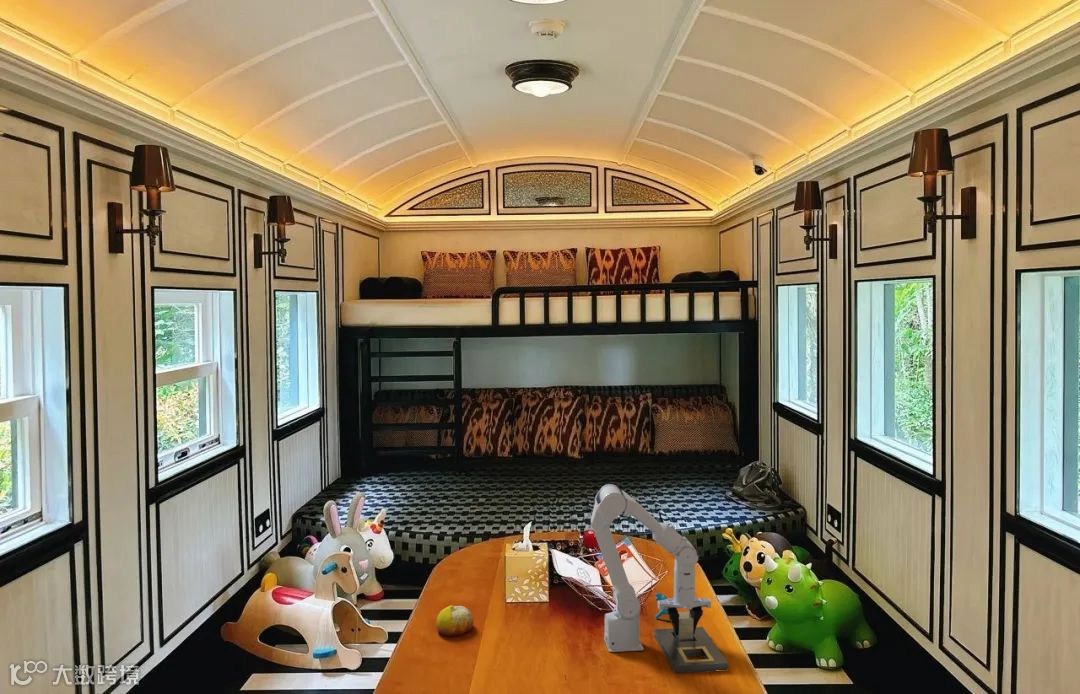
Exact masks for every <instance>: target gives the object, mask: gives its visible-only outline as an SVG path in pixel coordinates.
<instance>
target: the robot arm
mask: <svg viewBox="0 0 1080 694" xmlns="http://www.w3.org/2000/svg"><path fill="white" fill-rule="evenodd" d="M621 514H622V516H623V517H627V516H628V517H629V516H632V517H633V518H634V519H635V520H637V521H639V523H641V524H642V525H643V526H644V527H646V529H648V530H649V531H651V532H652V540H653V541H654V542H656V543H657V544H658V545H659V546H661V547H662V548H663V549H664V550H665V551H666V552H667V553H669V554H670V555H673V557H675V558H674V567H673V597H672V598H671V597H670V598H667V599H666V600H659V601H657V609H658V610H659V611H660V610H663V609H667V611H668V613H669V614H668V617H669V616H670V618H671V619H670V618H669V619H670V620H671V626H672V628H673V631H674V634H675V635H678V621H679V613H678V611H679V610H678V609H684V610H687V611H688V610H689V611H688V612H689V613H690V614H691V616H692V617H693V618H694V619H693V635H694V634H695V630H696V627H698V623H699V621H700V619H701V618H702V616H703V614H704V611H703V609H702V608H707V609H711V608H712V601H711V599H710V598H709V597H708V598H705V597H704V598H703V597H696V564H697V562H699V555H698V552H697V550H696V549H695V547H694V546H693V544H692V543H691V542H690V541H689V539H688V538H687V537H685V536H684V535H683V536H682V535H681V534H680V532H677V530H675V529H676V527H675V526H674V525H673V524H672V523H670V524H668V522H660V521H658V520H657V519H656V518H654V517H653V515H651V514H650V512H649V511H648V510H646V509H645V508H644V507H643V506H642V505H641V504H640V503H639V502H638V501H637V500H635V499H634V497H632V496H631V495H629V494H628V493H627V492H625V491H624V490H621V489H620V488H619V486H617V485H615V484H613V483H611V484H610V483H608V484H605V485H603V486H602V487H601V488H600V489H599V491H597V493H596V495H595V499H594V505H593V510H592V514H591V517H590V525H591V527H592V530H593V534H594V535H595V539H596V542H597V545H598V548H599V550H600V553H601V556H602V559H603V562H604V565H605V567H606V570H607V573H608V576H609V579H610V582H611V585H612V587H613V590H612V598H613V600H614V602H615V605H614V607H613V610H612V611H611V612H608V613H604V637H603V640H604V642H605V645H606V647H607V650H608V652H609V653H617V652H619V653H621V652H635V651H637V652H638V651H639V652H640V651H644V647H643V644H642V643H641V640H640V615H641V614H640V612H641V606H642V605H641V603H640V600H639V599H638V597H637V594H636V591H635V588H634V587H633V585H632V584H630V582H629V579H628V576H627V574H626V572H625V571H626V570H625V568H624V566H623V562H622V560H621V556H620V553H619V551H618V548H617V546H616V545H617V544H616V541H615V539H614V536H613V533H612V531H611V528H610V527H611V525H612V524H613V522H614V521H615V519H616V518H618V517H619V516H620V515H621Z"/></svg>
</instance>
